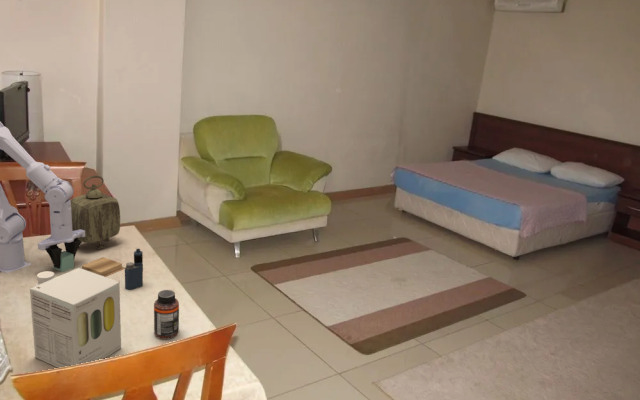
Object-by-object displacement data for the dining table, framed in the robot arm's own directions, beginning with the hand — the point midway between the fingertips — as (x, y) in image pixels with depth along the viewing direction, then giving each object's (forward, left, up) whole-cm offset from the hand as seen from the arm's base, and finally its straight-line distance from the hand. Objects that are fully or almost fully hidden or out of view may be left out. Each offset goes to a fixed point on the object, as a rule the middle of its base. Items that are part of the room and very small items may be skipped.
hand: (63, 264), depth 159 cm
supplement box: (+39, -26, -2) cm, 46 cm away
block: (0, 0, -2) cm, 2 cm away
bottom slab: (+9, +6, -2) cm, 11 cm away
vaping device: (+25, +4, -2) cm, 25 cm away
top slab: (+9, +6, -1) cm, 11 cm away
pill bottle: (+16, -17, -2) cm, 23 cm away
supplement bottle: (+49, -8, -2) cm, 50 cm away
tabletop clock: (-6, +17, -2) cm, 18 cm away
